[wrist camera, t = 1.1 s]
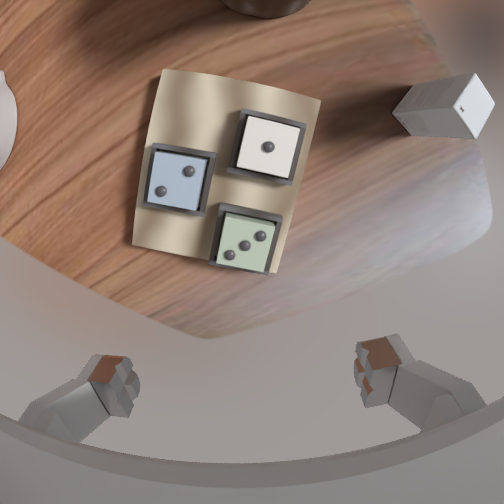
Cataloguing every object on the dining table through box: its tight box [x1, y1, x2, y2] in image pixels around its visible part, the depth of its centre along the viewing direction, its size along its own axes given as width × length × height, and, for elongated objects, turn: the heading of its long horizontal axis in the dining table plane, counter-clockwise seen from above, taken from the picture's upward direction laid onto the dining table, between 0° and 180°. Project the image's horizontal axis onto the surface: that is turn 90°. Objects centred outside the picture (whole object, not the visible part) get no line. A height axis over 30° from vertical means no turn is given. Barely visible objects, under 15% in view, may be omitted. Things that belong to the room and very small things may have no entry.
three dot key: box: [216, 212, 275, 272], centre depth 30 cm, size 5×5×2 cm
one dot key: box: [237, 116, 300, 178], centre depth 27 cm, size 5×5×2 cm
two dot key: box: [147, 151, 207, 211], centre depth 28 cm, size 5×5×2 cm
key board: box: [132, 69, 321, 275], centre depth 30 cm, size 17×20×4 cm
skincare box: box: [392, 73, 495, 139], centre depth 24 cm, size 6×4×12 cm
